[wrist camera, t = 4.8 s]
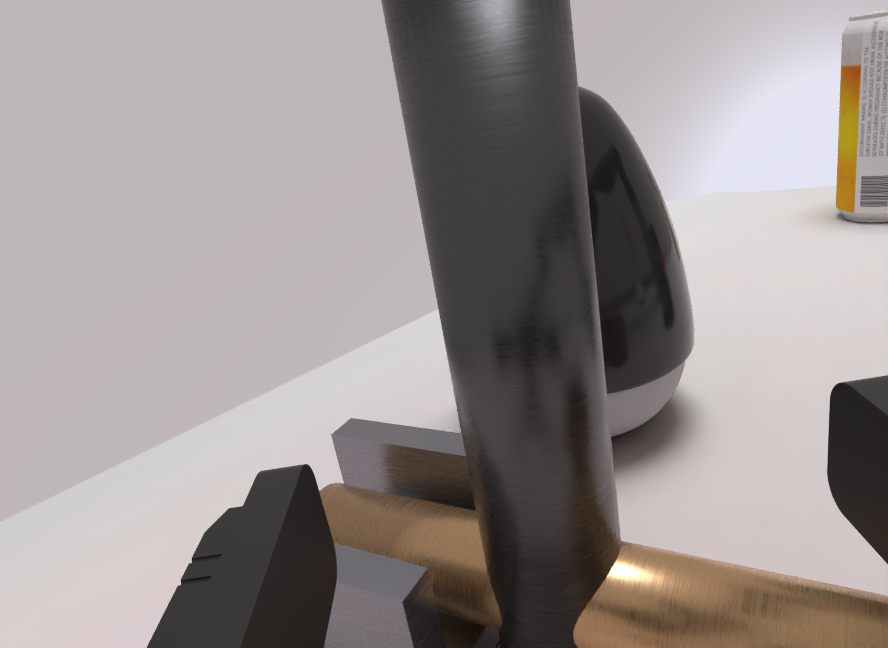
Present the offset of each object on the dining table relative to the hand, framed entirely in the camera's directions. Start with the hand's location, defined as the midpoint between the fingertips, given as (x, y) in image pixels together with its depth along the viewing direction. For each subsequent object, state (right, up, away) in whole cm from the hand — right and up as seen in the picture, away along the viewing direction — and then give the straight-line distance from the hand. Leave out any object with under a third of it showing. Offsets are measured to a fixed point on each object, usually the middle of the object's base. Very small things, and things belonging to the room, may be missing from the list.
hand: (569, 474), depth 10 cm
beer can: (+33, +11, +43) cm, 55 cm away
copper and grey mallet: (+2, -8, +9) cm, 12 cm away
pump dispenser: (+5, -2, +22) cm, 23 cm away
